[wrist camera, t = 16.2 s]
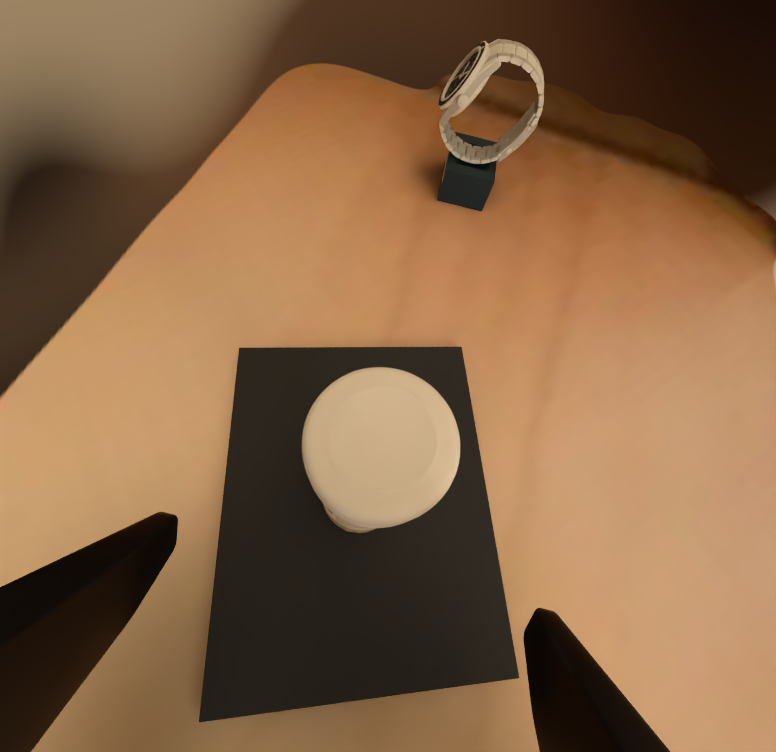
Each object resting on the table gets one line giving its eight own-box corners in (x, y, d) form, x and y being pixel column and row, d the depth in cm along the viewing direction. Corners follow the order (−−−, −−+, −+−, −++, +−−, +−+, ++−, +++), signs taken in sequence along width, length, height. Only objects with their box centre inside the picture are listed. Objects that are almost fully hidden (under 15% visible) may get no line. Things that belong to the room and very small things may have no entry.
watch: (425, 158, 37) (457, 15, 27) (503, 177, 37) (563, 42, 27) (417, 195, 34) (448, 54, 24) (499, 216, 34) (564, 83, 24)
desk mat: (516, 675, 20) (519, 678, 19) (201, 719, 17) (198, 722, 17) (460, 349, 28) (461, 346, 27) (240, 350, 26) (239, 347, 25)
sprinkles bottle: (331, 450, 23) (322, 347, 11) (401, 463, 23) (470, 377, 11) (313, 527, 21) (277, 507, 9) (390, 541, 21) (458, 541, 9)
